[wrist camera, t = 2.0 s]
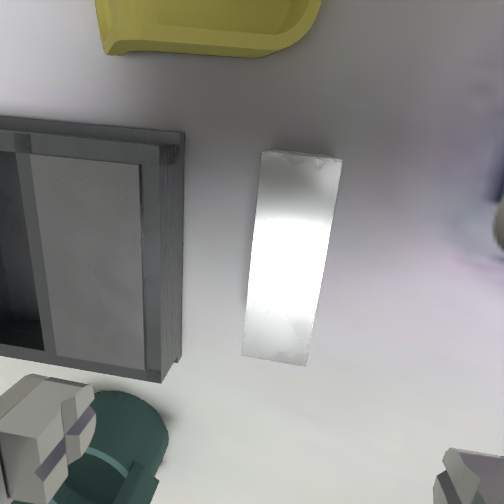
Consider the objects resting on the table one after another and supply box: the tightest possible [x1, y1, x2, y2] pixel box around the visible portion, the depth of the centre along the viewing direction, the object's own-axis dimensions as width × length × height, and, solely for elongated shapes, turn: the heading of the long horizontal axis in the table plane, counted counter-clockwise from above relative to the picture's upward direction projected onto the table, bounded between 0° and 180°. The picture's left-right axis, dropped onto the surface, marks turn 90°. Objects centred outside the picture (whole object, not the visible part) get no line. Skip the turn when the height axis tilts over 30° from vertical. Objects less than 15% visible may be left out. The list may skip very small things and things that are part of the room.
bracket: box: [11, 391, 169, 504], centre depth 24 cm, size 9×9×9 cm
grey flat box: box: [0, 117, 185, 383], centre depth 21 cm, size 16×14×4 cm
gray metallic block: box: [241, 149, 343, 367], centre depth 19 cm, size 11×4×5 cm, turn 174°
